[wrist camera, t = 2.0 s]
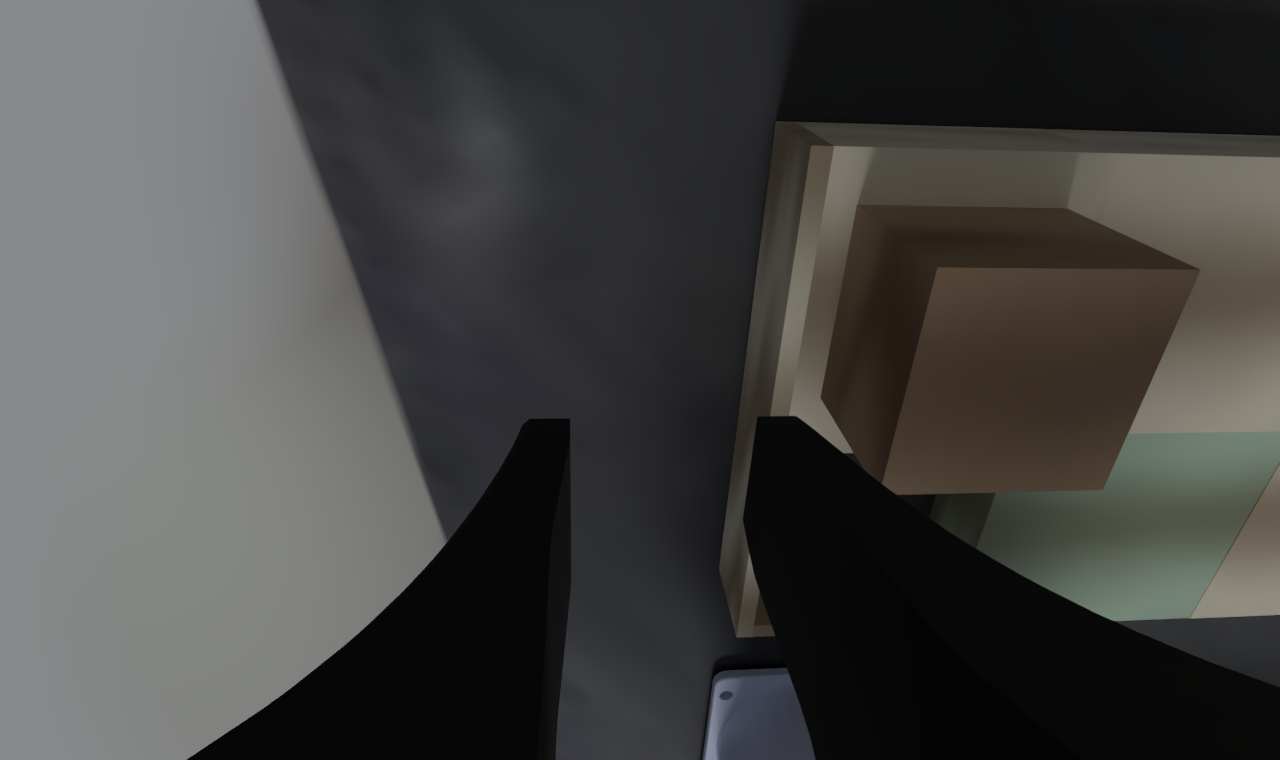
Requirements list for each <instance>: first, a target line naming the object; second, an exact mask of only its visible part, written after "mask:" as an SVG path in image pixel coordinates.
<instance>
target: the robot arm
mask: <svg viewBox="0 0 1280 760" xmlns="http://www.w3.org/2000/svg"><path fill="white" fill-rule="evenodd" d="M743 524H744V529H745V534H746V539H747V544H748V549H749V554H750V558H751V563H752V567H753V572H754V576H755V579H756V582H757V585H758V588H759V591H760V594H761V597H762V600H763V603H764V605H765V608H766V611H767V614H768V617H769V620H770V623H771V625H772V628H773V631H774V634H775V636H776V639H777V642H778V645H779V648H780V650H781V653H782V656H783V659H784V662H785V664H786V667H787V668H768V669H747V670H726V671H722V672H719V673H718V674H717V675H716V676H715V677H714V679H713V683H712V691H711V698H710V706H709V713H708V720H707V728H706V735H705V742H704V750H703V757H702V760H1280V687H1277V686H1274V685H1271V684H1269V683H1266V682H1263V681H1260V680H1257V679H1255V678H1252V677H1249V676H1246V675H1244V674H1241V673H1238V672H1235V671H1233V670H1230V669H1227V668H1224V667H1222V666H1219V665H1216V664H1213V663H1211V662H1208V661H1206V660H1203V659H1201V658H1198V657H1196V656H1193V655H1191V654H1188V653H1186V652H1184V651H1181V650H1179V649H1177V648H1174V647H1172V646H1169V645H1167V644H1165V643H1162V642H1160V641H1157V640H1155V639H1153V638H1150V637H1148V636H1146V635H1143V634H1141V633H1138V632H1136V631H1134V630H1132V629H1130V628H1127V627H1125V626H1123V625H1121V624H1119V623H1116V622H1114V621H1112V620H1110V619H1108V618H1105V617H1103V616H1101V615H1099V614H1097V613H1095V612H1092V611H1090V610H1088V609H1086V608H1084V607H1082V606H1080V605H1078V604H1076V603H1074V602H1072V601H1071V600H1069V599H1067V598H1065V597H1063V596H1061V595H1059V594H1057V593H1055V592H1053V591H1051V590H1049V589H1047V588H1045V587H1043V586H1041V585H1039V584H1037V583H1035V582H1033V581H1031V580H1030V579H1028V578H1026V577H1024V576H1022V575H1020V574H1018V573H1017V572H1015V571H1013V570H1011V569H1010V568H1008V567H1006V566H1005V565H1003V564H1001V563H999V562H998V561H996V560H994V559H993V558H991V557H989V556H988V555H986V554H984V553H983V552H981V551H979V550H977V549H976V548H974V547H972V546H971V545H969V544H967V543H966V542H964V541H963V540H961V539H960V538H958V537H956V536H955V535H953V534H952V533H950V532H949V531H947V530H946V529H944V528H943V527H941V526H940V525H938V524H937V523H936V522H934V521H933V520H931V519H930V518H928V517H927V516H925V515H924V514H922V513H921V512H920V511H918V510H917V509H915V508H914V507H912V506H911V505H910V504H908V503H907V502H906V501H904V500H903V499H901V498H900V497H899V496H897V495H896V494H895V493H893V492H892V491H891V490H889V489H888V488H887V487H885V486H884V485H883V484H881V483H880V482H879V481H878V480H876V479H875V478H874V477H872V476H871V475H870V474H869V473H867V472H866V471H865V470H864V469H862V468H861V467H860V466H858V465H857V464H856V463H855V462H853V461H852V460H851V459H850V458H849V457H847V456H846V455H845V454H844V453H842V452H841V451H840V450H839V449H837V448H836V447H835V446H834V445H833V444H831V443H830V442H829V441H828V440H826V439H825V438H824V437H823V436H821V435H820V434H819V433H818V432H817V431H815V430H814V429H813V428H811V427H810V426H809V425H808V424H806V423H805V422H804V421H802V420H801V419H800V418H798V417H797V416H757V423H756V430H755V437H754V444H753V451H752V458H751V465H750V472H749V479H748V486H747V493H746V500H745V507H744V514H743ZM570 588H571V503H570V419H529V420H528V421H527V422H526V423H524V424H523V425H522V427H521V429H520V432H519V434H518V437H517V439H516V441H515V443H514V445H513V447H512V449H511V450H510V452H509V454H508V456H507V458H506V459H505V461H504V463H503V464H502V466H501V468H500V470H499V471H498V473H497V474H496V476H495V477H494V479H493V480H492V482H491V483H490V485H489V486H488V488H487V489H486V491H485V493H484V494H483V496H482V497H481V499H480V500H479V501H478V503H477V504H476V506H475V507H474V508H473V510H472V511H471V512H470V514H469V515H468V516H467V518H466V519H465V520H464V521H463V523H462V524H461V525H460V527H459V528H458V529H457V531H456V532H455V533H454V535H453V536H452V537H451V538H450V540H449V541H448V542H447V543H446V545H445V546H444V547H443V548H442V549H441V551H440V552H439V553H438V554H437V555H436V556H435V558H434V559H433V560H432V561H431V562H430V563H429V564H428V566H427V567H426V568H425V569H424V570H423V571H422V572H421V573H420V574H419V575H418V576H417V577H416V578H415V579H414V580H413V582H412V583H411V584H410V585H409V586H408V587H407V588H406V589H405V590H404V591H403V592H402V593H401V594H400V595H399V596H398V597H397V598H396V599H395V600H394V601H393V602H392V603H391V604H389V606H388V607H386V608H385V609H384V610H383V611H382V612H381V613H380V614H379V615H378V616H377V617H376V618H375V619H374V620H373V621H372V622H371V623H370V624H369V625H367V626H366V627H365V628H364V629H363V630H362V631H361V632H360V633H358V634H357V635H356V636H355V637H354V638H353V639H352V640H350V641H349V642H348V643H347V644H346V645H345V646H344V647H342V648H341V649H340V650H339V651H337V652H336V653H335V654H334V655H332V656H331V657H330V658H329V659H327V660H326V661H325V662H323V663H322V664H321V665H320V666H318V667H317V668H316V669H315V670H314V671H312V672H311V673H310V674H308V675H307V676H306V677H305V678H303V679H302V680H301V681H300V682H299V683H297V684H296V685H295V686H293V687H292V688H291V689H290V690H288V691H287V692H286V693H284V694H283V695H282V696H280V697H279V698H278V699H276V700H275V701H273V702H272V703H270V704H269V705H268V706H266V707H265V708H264V709H262V710H261V711H259V712H258V713H256V714H255V715H253V716H252V717H250V718H249V719H247V720H246V721H244V722H243V723H241V724H240V725H238V726H237V727H235V728H234V729H232V730H231V731H229V732H228V733H226V734H225V735H223V736H222V737H220V738H219V739H217V740H216V741H214V742H213V743H211V744H210V745H208V746H207V747H205V748H204V749H202V750H201V751H199V752H198V753H196V754H195V755H193V756H192V757H190V758H188V759H187V760H555V755H556V734H557V718H558V708H559V698H560V688H561V678H562V668H563V658H564V648H565V638H566V628H567V618H568V608H569V598H570Z"/></svg>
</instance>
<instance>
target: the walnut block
mask: <svg viewBox="0 0 1280 760" xmlns="http://www.w3.org/2000/svg"><path fill="white" fill-rule="evenodd" d="M1200 271H1201V270H1200V269H1198V268H1196V267H1194V266H1191V265H1189V264H1187V263H1185V262H1183V261H1181V260H1178V259H1176V258H1174V257H1172V256H1170V255H1167V254H1165V253H1163V252H1161V251H1159V250H1157V249H1154V248H1152V247H1150V246H1148V245H1146V244H1143V243H1141V242H1139V241H1137V240H1135V239H1133V238H1130V237H1128V236H1126V235H1124V234H1122V233H1120V232H1117V231H1115V230H1113V229H1111V228H1109V227H1106V226H1104V225H1102V224H1100V223H1098V222H1096V221H1093V220H1091V219H1089V218H1087V217H1085V216H1082V215H1080V214H1078V213H1076V212H1074V211H1072V210H1069V209H1067V208H1014V207H957V206H900V205H857V207H856V213H855V218H854V223H853V228H852V234H851V239H850V244H849V250H848V255H847V260H846V265H845V271H844V276H843V281H842V286H841V292H840V297H839V302H838V308H837V313H836V318H835V323H834V329H833V334H832V339H831V344H830V350H829V355H828V360H827V366H826V371H825V376H824V381H823V387H822V392H821V397H820V398H821V400H822V401H823V403H824V405H825V406H826V408H827V410H828V411H829V413H830V415H831V416H832V418H833V419H834V421H835V423H836V424H837V426H838V428H839V429H840V431H841V433H842V434H843V436H844V438H845V439H846V441H847V443H848V444H849V446H850V448H851V449H852V451H853V453H854V454H855V456H856V458H857V459H858V461H859V463H860V464H861V466H862V468H863V469H864V470H865V471H866V472H867V473H869V474H870V475H871V476H872V477H874V478H875V479H876V480H878V481H879V482H880V483H881V484H883V485H884V486H885V487H887V488H888V489H889V490H891V491H892V492H893V493H895V494H896V495H913V494H956V493H999V492H1043V491H1086V490H1103V489H1104V487H1105V484H1106V482H1107V480H1108V478H1109V475H1110V473H1111V471H1112V469H1113V466H1114V464H1115V462H1116V460H1117V457H1118V455H1119V453H1120V451H1121V448H1122V446H1123V444H1124V442H1125V439H1126V437H1127V435H1128V433H1129V430H1130V428H1131V426H1132V424H1133V421H1134V419H1135V417H1136V415H1137V412H1138V410H1139V408H1140V406H1141V403H1142V401H1143V399H1144V397H1145V394H1146V392H1147V390H1148V388H1149V385H1150V383H1151V381H1152V379H1153V376H1154V374H1155V372H1156V370H1157V367H1158V365H1159V363H1160V361H1161V358H1162V356H1163V354H1164V352H1165V349H1166V347H1167V345H1168V343H1169V340H1170V338H1171V336H1172V334H1173V331H1174V329H1175V327H1176V325H1177V322H1178V320H1179V318H1180V316H1181V313H1182V311H1183V309H1184V307H1185V304H1186V302H1187V300H1188V298H1189V295H1190V293H1191V291H1192V289H1193V286H1194V284H1195V282H1196V280H1197V277H1198V275H1199V273H1200Z"/></svg>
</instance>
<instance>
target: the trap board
mask: <svg viewBox="0 0 1280 760" xmlns="http://www.w3.org/2000/svg"><path fill="white" fill-rule="evenodd" d="M857 205H900V206H957V207H1014V208H1067V209H1069V210H1072V211H1074V212H1076V213H1078V214H1080V215H1082V216H1085V217H1087V218H1089V219H1091V220H1093V221H1096V222H1098V223H1100V224H1102V225H1104V226H1106V227H1109V228H1111V229H1113V230H1115V231H1117V232H1120V233H1122V234H1124V235H1126V236H1128V237H1130V238H1133V239H1135V240H1137V241H1139V242H1141V243H1143V244H1146V245H1148V246H1150V247H1152V248H1154V249H1157V250H1159V251H1161V252H1163V253H1165V254H1167V255H1170V256H1172V257H1174V258H1176V259H1178V260H1181V261H1183V262H1185V263H1187V264H1189V265H1191V266H1194V267H1196V268H1198V269H1200V270H1201V271H1200V273H1199V275H1198V277H1197V280H1196V282H1195V284H1194V286H1193V289H1192V291H1191V293H1190V295H1189V298H1188V300H1187V302H1186V304H1185V307H1184V309H1183V311H1182V313H1181V316H1180V318H1179V320H1178V322H1177V325H1176V327H1175V329H1174V331H1173V334H1172V336H1171V338H1170V340H1169V343H1168V345H1167V347H1166V349H1165V352H1164V354H1163V356H1162V358H1161V361H1160V363H1159V365H1158V367H1157V370H1156V372H1155V374H1154V376H1153V379H1152V381H1151V383H1150V385H1149V388H1148V390H1147V392H1146V394H1145V397H1144V399H1143V401H1142V403H1141V406H1140V408H1139V410H1138V412H1137V415H1136V417H1135V419H1134V421H1133V424H1132V426H1131V428H1130V430H1129V433H1128V435H1127V437H1126V439H1125V442H1124V444H1123V446H1122V448H1121V451H1120V453H1119V455H1118V457H1117V460H1116V462H1115V464H1114V466H1113V469H1112V471H1111V473H1110V475H1109V478H1108V480H1107V482H1106V484H1105V487H1104V489H1103V490H1086V491H1043V492H999V493H956V494H913V495H897V496H899V497H900V498H901V499H903V500H904V501H906V502H907V503H908V504H910V505H911V506H912V507H914V508H915V509H917V510H918V511H920V512H921V513H922V514H924V515H925V516H927V517H928V518H930V519H931V520H933V521H934V522H936V523H937V524H938V525H940V526H941V527H943V528H944V529H946V530H947V531H949V532H950V533H952V534H953V535H955V536H956V537H958V538H960V539H961V540H963V541H964V542H966V543H967V544H969V545H971V546H972V547H974V548H976V549H977V550H979V551H981V552H983V553H984V554H986V555H988V556H989V557H991V558H993V559H994V560H996V561H998V562H999V563H1001V564H1003V565H1005V566H1006V567H1008V568H1010V569H1011V570H1013V571H1015V572H1017V573H1018V574H1020V575H1022V576H1024V577H1026V578H1028V579H1030V580H1031V581H1033V582H1035V583H1037V584H1039V585H1041V586H1043V587H1045V588H1047V589H1049V590H1051V591H1053V592H1055V593H1057V594H1059V595H1061V596H1063V597H1065V598H1067V599H1069V600H1071V601H1072V602H1074V603H1076V604H1078V605H1080V606H1082V607H1084V608H1086V609H1088V610H1090V611H1092V612H1095V613H1097V614H1099V615H1101V616H1103V617H1105V618H1108V619H1110V620H1112V621H1126V620H1149V619H1173V618H1214V617H1238V616H1261V615H1280V136H1269V135H1235V134H1200V133H1166V132H1131V131H1097V130H1062V129H1027V128H993V127H958V126H924V125H889V124H854V123H820V122H785V121H776V124H775V131H774V139H773V147H772V155H771V163H770V171H769V179H768V187H767V194H766V202H765V210H764V218H763V226H762V234H761V242H760V250H759V257H758V265H757V273H756V281H755V289H754V297H753V305H752V313H751V320H750V328H749V336H748V344H747V352H746V360H745V368H744V375H743V383H742V391H741V399H740V407H739V415H738V423H737V431H736V438H735V446H734V454H733V462H732V470H731V478H730V486H729V494H728V501H727V509H726V517H725V525H724V533H723V541H722V549H721V557H720V564H719V572H720V576H721V580H722V583H723V587H724V591H725V595H726V599H727V603H728V607H729V611H730V615H731V619H732V623H733V626H734V630H735V634H736V638H740V637H764V636H775V634H774V631H773V628H772V625H771V623H770V620H769V617H768V614H767V611H766V608H765V605H764V603H763V600H762V597H761V594H760V591H759V588H758V585H757V582H756V579H755V576H754V572H753V567H752V563H751V558H750V554H749V549H748V544H747V539H746V534H745V529H744V524H743V514H744V507H745V500H746V493H747V486H748V479H749V472H750V465H751V458H752V451H753V444H754V437H755V430H756V423H757V416H797V417H798V418H800V419H801V420H802V421H804V422H805V423H806V424H808V425H809V426H810V427H811V428H813V429H814V430H815V431H817V432H818V433H819V434H820V435H821V436H823V437H824V438H825V439H826V440H828V441H829V442H830V443H831V444H833V445H834V446H835V447H836V448H837V449H839V450H840V451H841V452H842V453H844V454H845V455H846V456H847V457H849V458H850V459H851V460H852V461H853V462H855V463H856V464H857V465H858V466H860V467H861V468H862V466H861V464H860V463H859V461H858V459H857V458H856V456H855V454H854V453H853V451H852V449H851V448H850V446H849V444H848V443H847V441H846V439H845V438H844V436H843V434H842V433H841V431H840V429H839V428H838V426H837V424H836V423H835V421H834V419H833V418H832V416H831V415H830V413H829V411H828V410H827V408H826V406H825V405H824V403H823V401H822V400H821V398H820V397H821V392H822V387H823V381H824V376H825V371H826V366H827V360H828V355H829V350H830V344H831V339H832V334H833V329H834V323H835V318H836V313H837V308H838V302H839V297H840V292H841V286H842V281H843V276H844V271H845V265H846V260H847V255H848V250H849V244H850V239H851V234H852V228H853V223H854V218H855V213H856V207H857ZM862 469H863V468H862Z"/></svg>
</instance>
